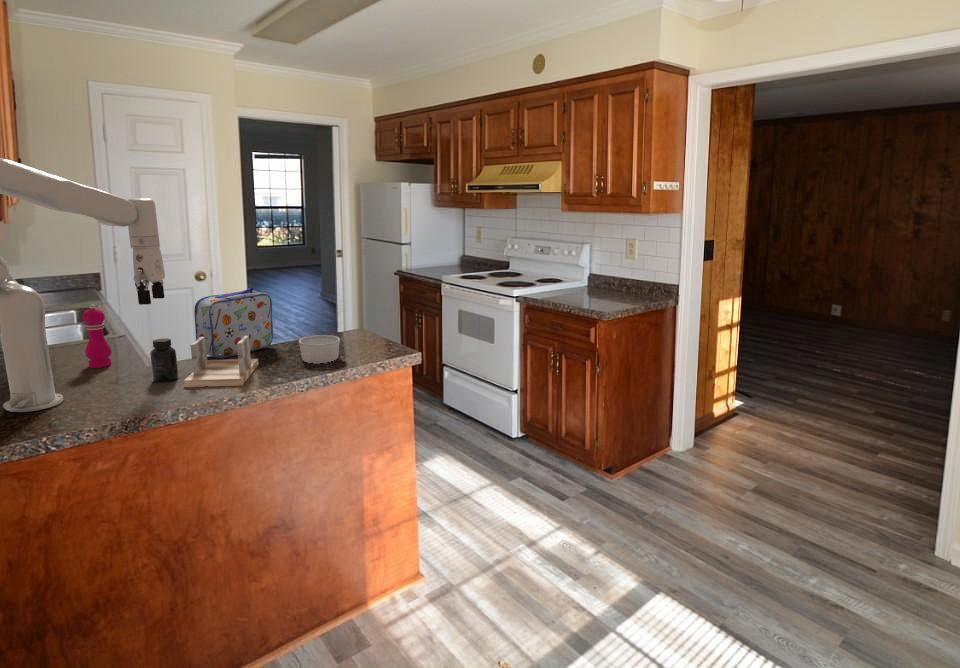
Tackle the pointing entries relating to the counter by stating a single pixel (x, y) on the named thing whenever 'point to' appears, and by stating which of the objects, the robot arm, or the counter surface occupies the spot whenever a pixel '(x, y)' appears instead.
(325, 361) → the ramekin
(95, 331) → the pepper mill
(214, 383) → the wooden stand
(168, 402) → the counter surface
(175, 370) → the supplement bottle
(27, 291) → the robot arm
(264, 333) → the lunch box
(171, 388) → the counter surface
